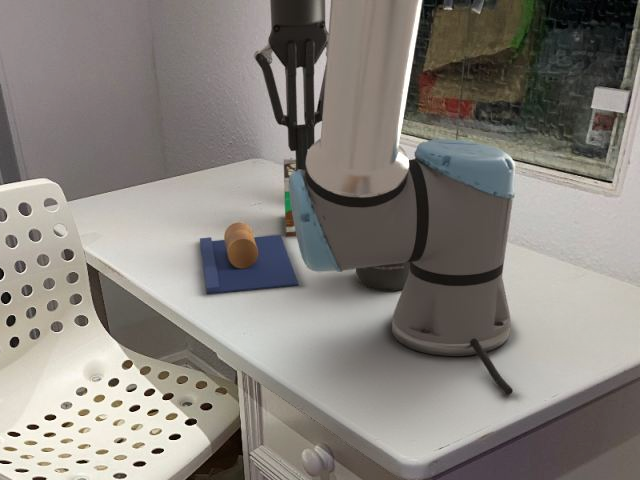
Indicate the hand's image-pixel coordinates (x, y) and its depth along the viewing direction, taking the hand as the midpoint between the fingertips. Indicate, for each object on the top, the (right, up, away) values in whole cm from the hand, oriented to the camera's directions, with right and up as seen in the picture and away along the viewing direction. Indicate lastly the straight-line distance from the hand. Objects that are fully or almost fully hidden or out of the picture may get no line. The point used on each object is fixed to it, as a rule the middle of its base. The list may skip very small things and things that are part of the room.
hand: (302, 172), depth 125 cm
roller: (-10, -9, +6) cm, 15 cm away
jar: (+13, -17, -1) cm, 21 cm away
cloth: (-9, -12, +7) cm, 16 cm away
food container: (+1, -2, +20) cm, 20 cm away
